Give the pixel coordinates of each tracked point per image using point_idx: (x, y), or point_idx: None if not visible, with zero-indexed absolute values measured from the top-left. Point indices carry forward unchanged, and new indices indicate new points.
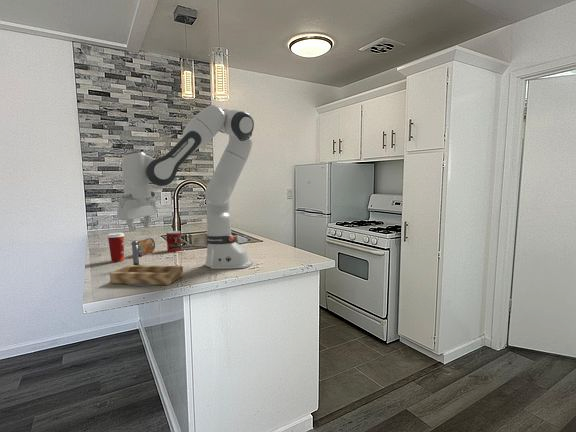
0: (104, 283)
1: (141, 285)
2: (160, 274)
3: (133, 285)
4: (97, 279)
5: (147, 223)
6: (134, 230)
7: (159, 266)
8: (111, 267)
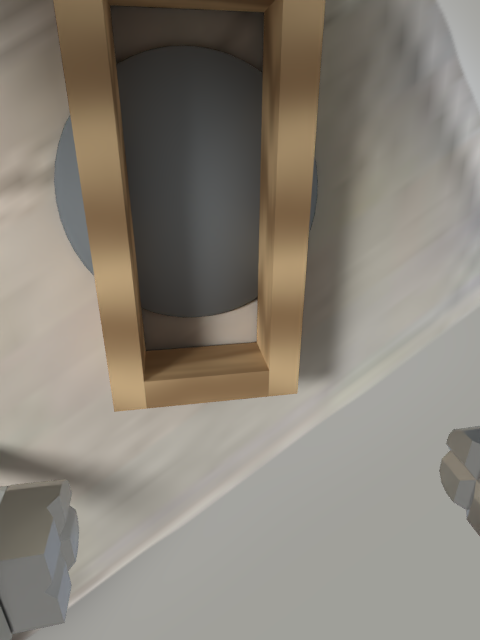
0: None
1: (316, 169)
2: (323, 20)
3: (311, 221)
4: (214, 466)
5: (31, 546)
6: (473, 427)
7: (102, 170)
8: None
